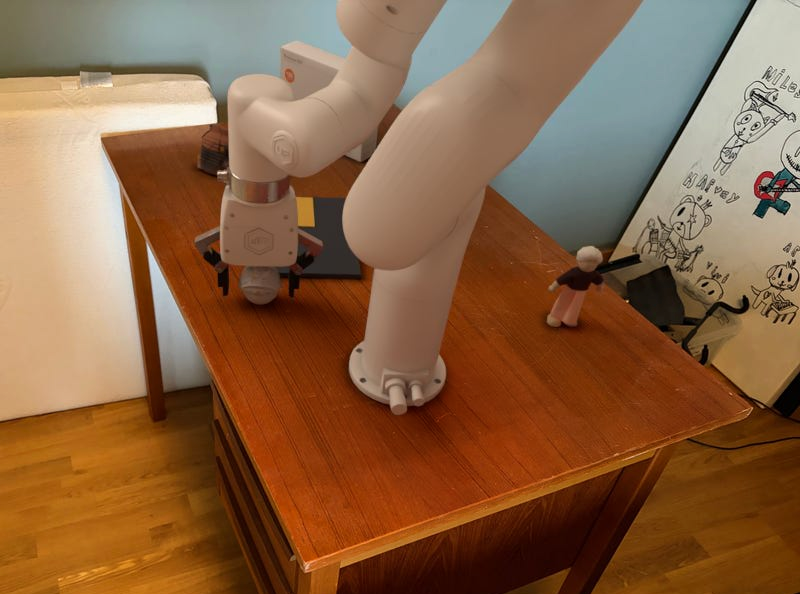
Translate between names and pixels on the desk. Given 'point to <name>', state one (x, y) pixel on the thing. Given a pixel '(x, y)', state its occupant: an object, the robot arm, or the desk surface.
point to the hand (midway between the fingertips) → (258, 290)
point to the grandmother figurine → (575, 287)
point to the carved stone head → (260, 283)
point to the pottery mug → (214, 150)
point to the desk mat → (325, 239)
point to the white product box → (316, 81)
